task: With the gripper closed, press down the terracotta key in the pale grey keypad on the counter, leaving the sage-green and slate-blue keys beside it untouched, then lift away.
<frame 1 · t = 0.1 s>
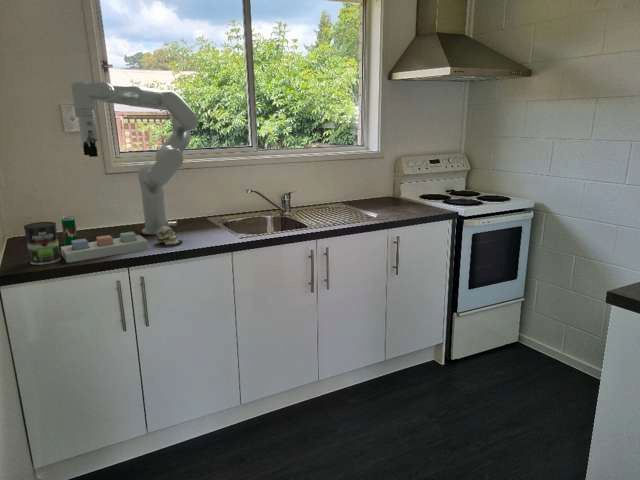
hand: (90, 155, 194), 37 cm above the counter, tool pointing down, fingers open, 9 cm apart
sage key: (128, 238, 190), point 4 cm above the counter, slide at 0.0 cm
soda can: (71, 244, 197), on the counter
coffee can: (46, 261, 175), on the counter
slate key: (80, 245, 179), point 4 cm above the counter, slide at 0.0 cm
skull: (168, 244, 197), on the counter
keypad housing: (106, 252, 186), on the counter
terracotta key: (104, 241, 185), point 4 cm above the counter, slide at 0.0 cm
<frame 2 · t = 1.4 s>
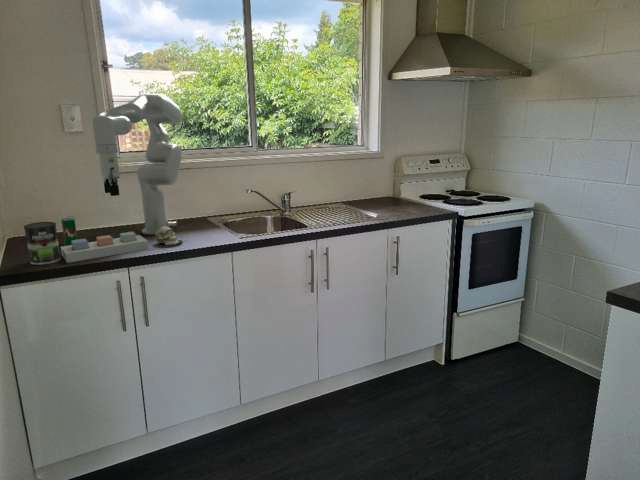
hand: (112, 193, 183), 23 cm above the counter, tool pointing down, fingers open, 8 cm apart
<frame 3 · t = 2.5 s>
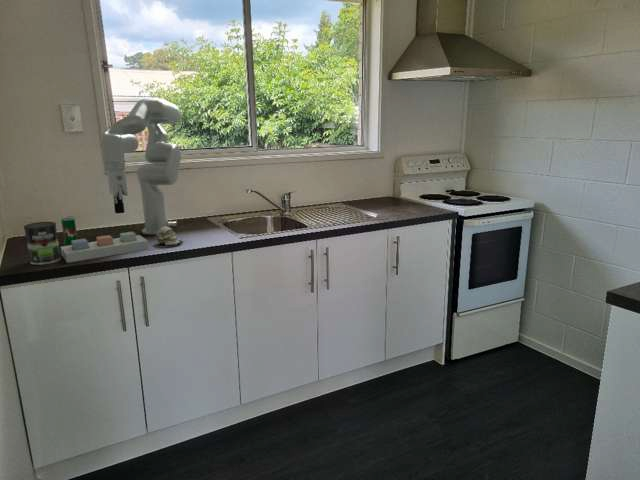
hand: (119, 212, 185), 15 cm above the counter, tool pointing down, fingers closed
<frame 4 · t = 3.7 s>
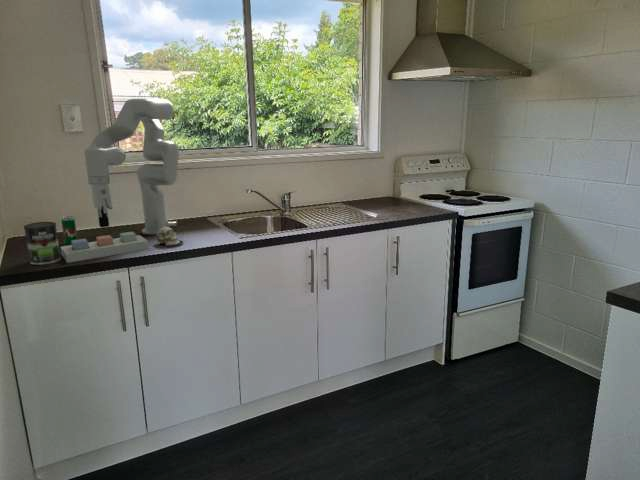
hand: (104, 226, 183), 11 cm above the counter, tool pointing down, fingers closed
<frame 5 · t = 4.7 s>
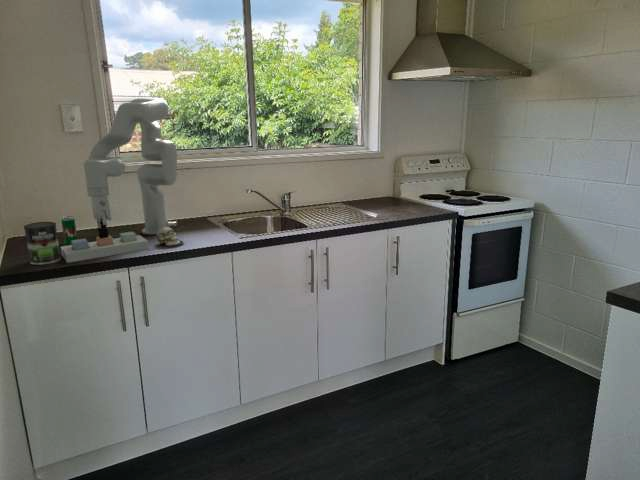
hand: (103, 237, 184), 6 cm above the counter, tool pointing down, fingers closed
terracotta key: (104, 242, 185), point 4 cm above the counter, slide at 0.0 cm, touching gripper
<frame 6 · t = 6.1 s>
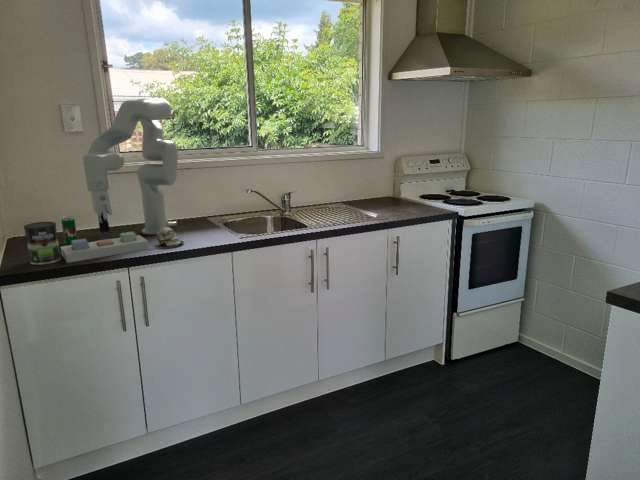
hand: (104, 231, 184), 8 cm above the counter, tool pointing down, fingers closed
terracotta key: (105, 245, 185), point 3 cm above the counter, slide at 1.6 cm
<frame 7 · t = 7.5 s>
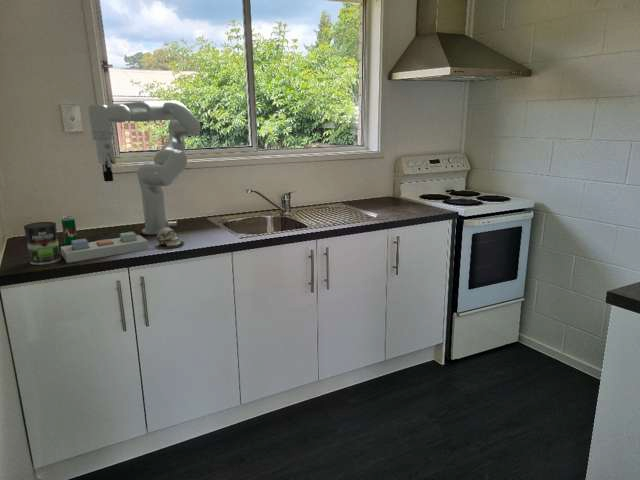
hand: (108, 180, 193), 27 cm above the counter, tool pointing down, fingers closed
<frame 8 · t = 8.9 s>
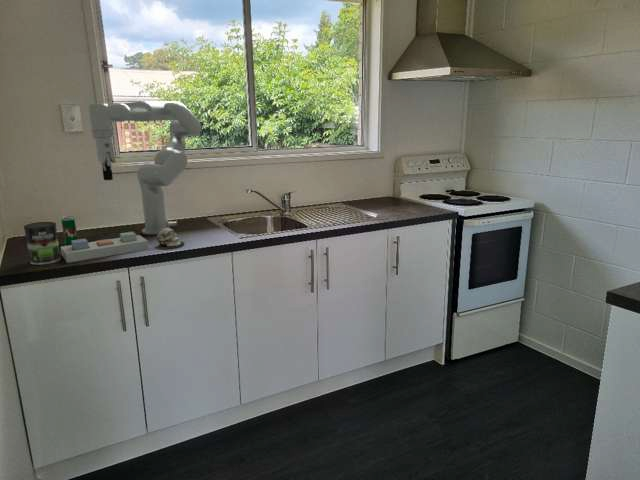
hand: (108, 179, 193), 27 cm above the counter, tool pointing down, fingers closed
at the end: terracotta key slide at 1.6 cm; sage key slide at 0.0 cm; slate key slide at 0.0 cm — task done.
